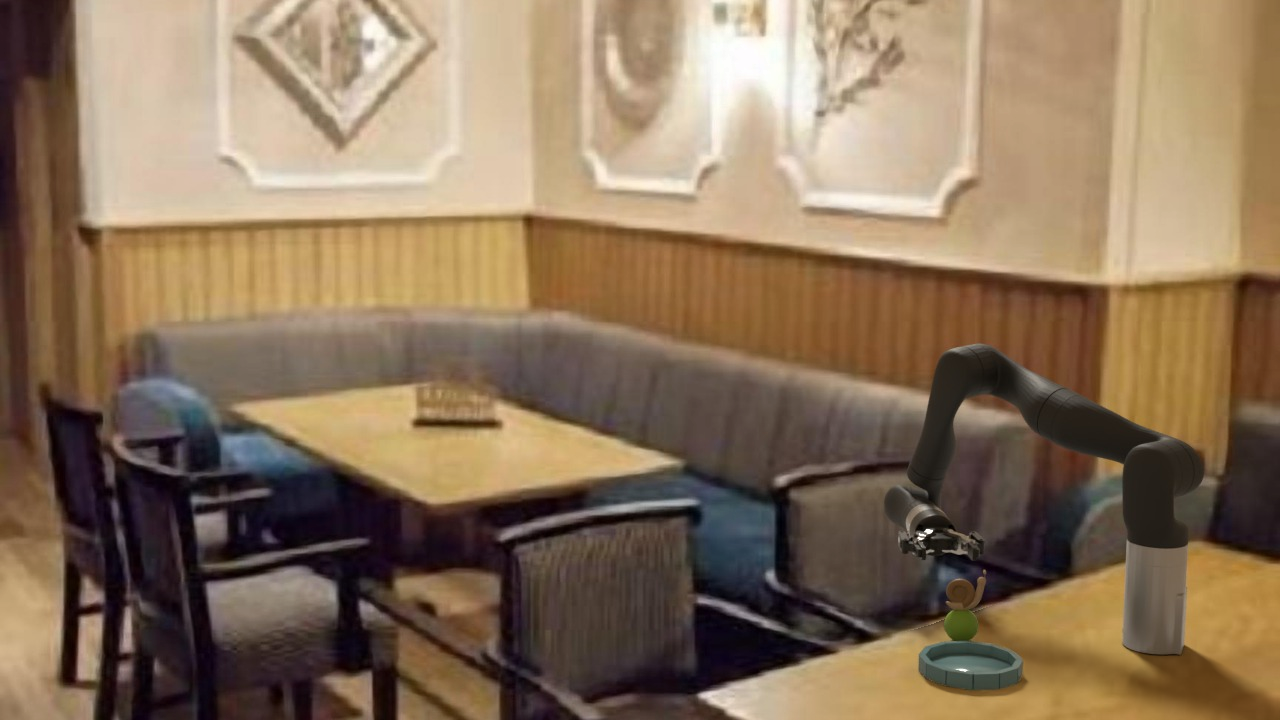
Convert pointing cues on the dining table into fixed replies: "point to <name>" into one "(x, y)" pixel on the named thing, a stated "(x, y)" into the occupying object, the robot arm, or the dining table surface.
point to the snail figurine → (963, 608)
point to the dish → (970, 665)
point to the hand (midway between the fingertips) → (949, 554)
